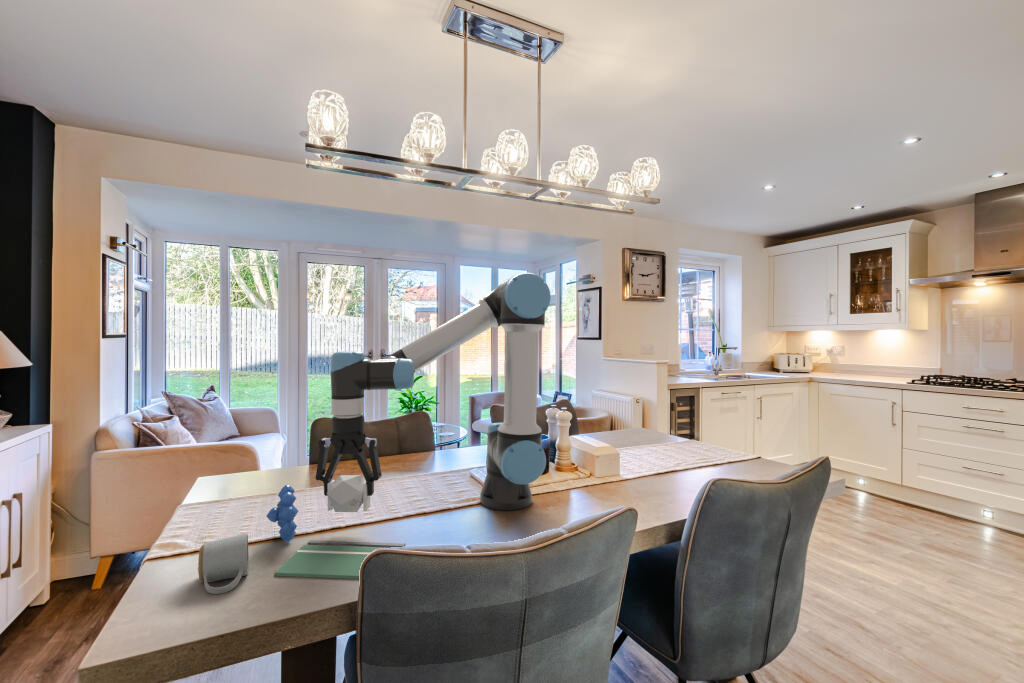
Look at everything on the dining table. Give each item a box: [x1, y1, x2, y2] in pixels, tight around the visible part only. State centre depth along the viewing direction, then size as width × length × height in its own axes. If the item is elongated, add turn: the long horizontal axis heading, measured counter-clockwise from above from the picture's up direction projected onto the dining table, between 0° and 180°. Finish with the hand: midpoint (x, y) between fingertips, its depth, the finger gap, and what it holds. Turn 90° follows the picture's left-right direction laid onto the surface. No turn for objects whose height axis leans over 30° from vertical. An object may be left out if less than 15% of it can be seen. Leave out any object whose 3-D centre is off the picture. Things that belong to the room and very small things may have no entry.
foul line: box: [307, 539, 406, 548], centre depth 105 cm, size 22×1×1 cm, turn 89°
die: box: [327, 474, 365, 513], centre depth 111 cm, size 8×9×10 cm
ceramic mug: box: [197, 532, 250, 595], centre depth 88 cm, size 11×8×8 cm
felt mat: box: [274, 544, 379, 580], centre depth 96 cm, size 22×12×1 cm, turn 89°
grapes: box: [266, 484, 299, 543], centre depth 107 cm, size 12×7×12 cm, turn 31°
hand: (349, 508), depth 111 cm, fingers closed on die, 8 cm apart
